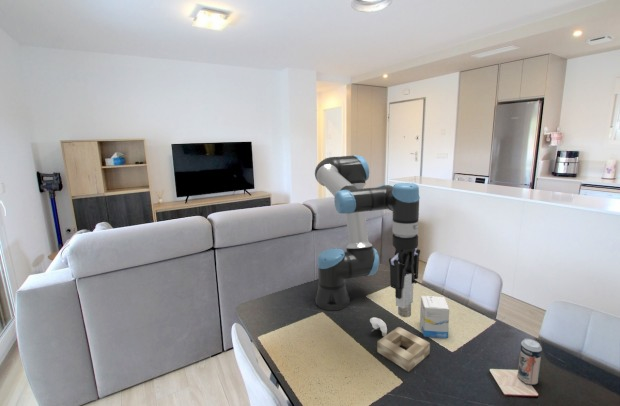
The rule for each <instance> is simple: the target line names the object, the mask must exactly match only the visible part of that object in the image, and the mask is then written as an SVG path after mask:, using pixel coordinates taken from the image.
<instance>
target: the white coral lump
mask: <svg viewBox="0 0 620 406" xmlns="http://www.w3.org/2000/svg"><path fill="white" fill-rule="evenodd" d="M369 322H370V323H371V325H372V326H371V327H372V328H373V329H372V330H371V332H374V331H375V330H378V329H379V330H380V331H381V336H382V338H383V337H384V336H386V335H387V334H388V333H387V332H388V328H387V324H386V322H385V321H383V320H382V319H381V318H378V317H371V318H370V319H369Z"/></svg>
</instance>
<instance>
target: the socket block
mask: <svg viewBox="0 0 620 406" xmlns="http://www.w3.org/2000/svg"><path fill="white" fill-rule="evenodd" d="M376 344H377V347H376V350H377V351H376V352H377V353H378V354H380V355H382V356H383V357H384V358H386V359H387V360H389V361H391V362H392V363H394V364H396V365H397V366H399V367H400V368H402V369H403V370H404V371H406V372H408V373H409V372H411V371H412V370H413V369H414V368H415V367H417V365H418V364H420V363H421V362H422V361H423V360H424V359H425V358H427V356H429V355H430V352H431V350H430V349H431V342H429V341H427V340H426V339H424V338H421V337H419V336H417V335H416V334H415V333H414V334H413V333H412V332H410V331H408V330H406V329H404V328H403V327H400V326H398V327H396V328H395V329H393V330H391V331H390V332H389V333H387V335H386V336H384V337H383V336H382V337H381V338H380V339H378V340H377V342H376ZM400 346H402V347H400ZM403 347H404V348H403Z"/></svg>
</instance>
